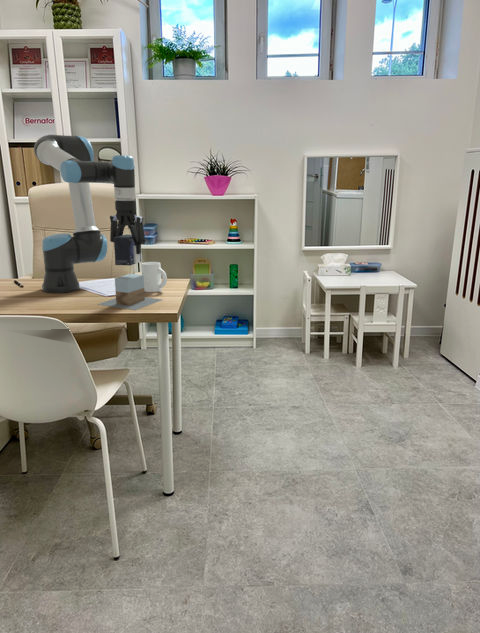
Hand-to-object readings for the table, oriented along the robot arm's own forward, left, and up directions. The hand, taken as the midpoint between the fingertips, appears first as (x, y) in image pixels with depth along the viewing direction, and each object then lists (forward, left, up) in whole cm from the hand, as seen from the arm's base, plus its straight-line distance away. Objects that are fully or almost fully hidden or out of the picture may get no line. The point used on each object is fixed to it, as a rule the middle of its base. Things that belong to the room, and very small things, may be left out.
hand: (128, 261), depth 182 cm
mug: (-3, +21, -16) cm, 27 cm away
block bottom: (0, 0, -16) cm, 16 cm away
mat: (0, 0, -16) cm, 16 cm away
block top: (0, 0, -11) cm, 11 cm away
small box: (0, 0, -1) cm, 1 cm away
